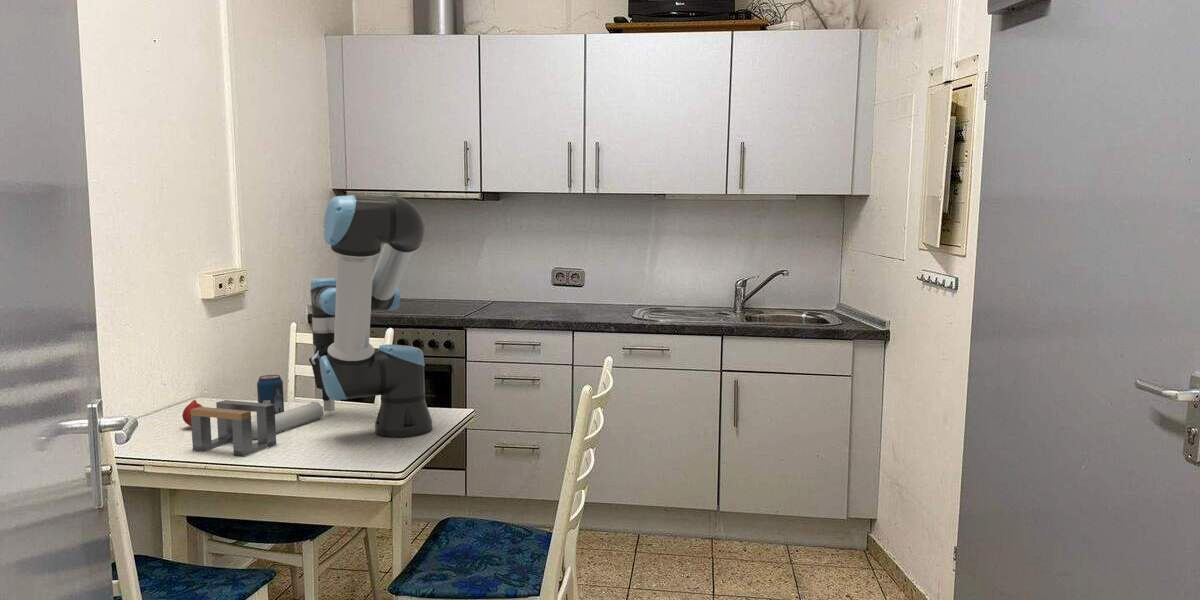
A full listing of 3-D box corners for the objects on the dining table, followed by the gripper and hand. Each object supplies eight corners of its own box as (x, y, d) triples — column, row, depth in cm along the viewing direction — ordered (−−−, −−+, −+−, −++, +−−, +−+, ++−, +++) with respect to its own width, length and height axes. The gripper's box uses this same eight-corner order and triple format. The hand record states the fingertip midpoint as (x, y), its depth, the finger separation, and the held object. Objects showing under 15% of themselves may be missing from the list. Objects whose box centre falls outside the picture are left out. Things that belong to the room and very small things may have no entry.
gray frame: (276, 444, 202) (274, 404, 201) (243, 456, 191) (241, 414, 190) (227, 439, 207) (225, 399, 206) (192, 450, 197) (190, 409, 196)
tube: (259, 427, 205) (325, 405, 228) (244, 419, 206) (311, 398, 229) (255, 445, 206) (321, 422, 229) (240, 437, 207) (307, 415, 231)
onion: (180, 431, 216) (178, 402, 215) (187, 426, 222) (185, 397, 221) (203, 430, 217) (201, 401, 216) (209, 424, 223) (207, 396, 222)
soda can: (263, 414, 235) (261, 374, 234) (287, 413, 235) (285, 374, 234) (254, 420, 228) (252, 379, 227) (279, 419, 228) (277, 378, 227)
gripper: (330, 327, 238) (333, 405, 240) (300, 333, 226) (303, 414, 228) (351, 328, 235) (354, 406, 238) (321, 334, 223) (325, 416, 225)
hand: (329, 410), depth 233 cm, fingers closed
